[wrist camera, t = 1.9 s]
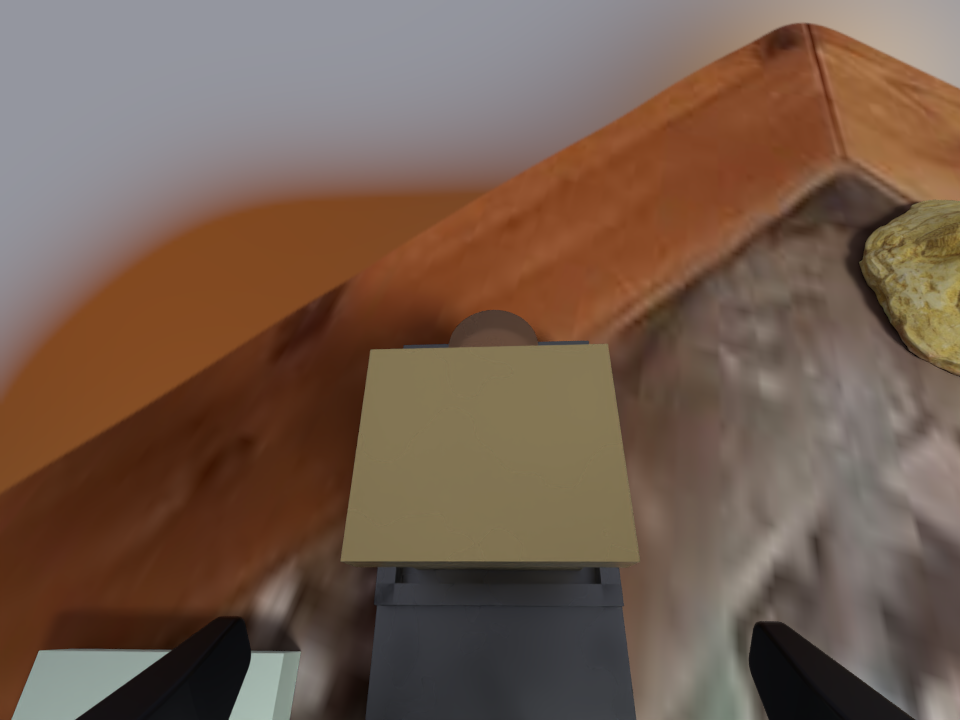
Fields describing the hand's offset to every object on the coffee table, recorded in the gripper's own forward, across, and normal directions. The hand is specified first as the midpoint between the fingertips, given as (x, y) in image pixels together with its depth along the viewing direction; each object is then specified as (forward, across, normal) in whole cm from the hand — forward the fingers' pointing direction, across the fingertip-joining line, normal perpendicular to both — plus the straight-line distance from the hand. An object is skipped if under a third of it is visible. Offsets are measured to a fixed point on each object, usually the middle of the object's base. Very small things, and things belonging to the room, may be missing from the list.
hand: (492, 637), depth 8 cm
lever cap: (+8, 0, +3) cm, 9 cm away
